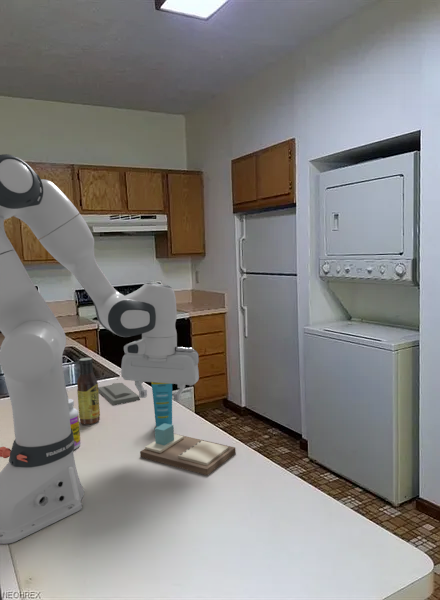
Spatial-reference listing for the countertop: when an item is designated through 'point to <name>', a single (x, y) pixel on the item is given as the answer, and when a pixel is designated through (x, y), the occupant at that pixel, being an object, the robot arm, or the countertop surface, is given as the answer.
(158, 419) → the tube
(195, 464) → the board
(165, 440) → the panel
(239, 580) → the countertop surface
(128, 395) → the soap mold
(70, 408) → the supplement bottle
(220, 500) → the countertop surface
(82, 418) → the sauce bottle
